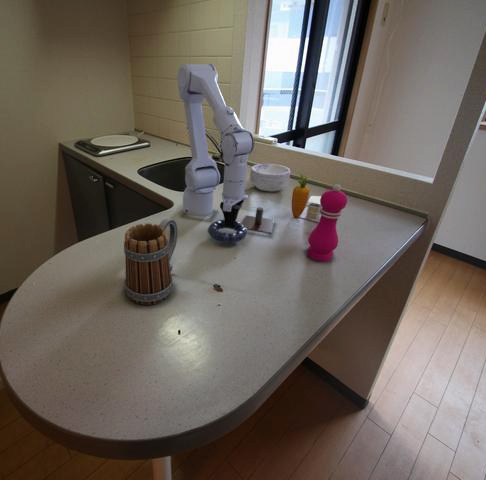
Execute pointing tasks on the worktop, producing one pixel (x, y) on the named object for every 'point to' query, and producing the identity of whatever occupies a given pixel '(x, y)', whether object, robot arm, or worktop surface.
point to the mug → (149, 261)
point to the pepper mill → (327, 225)
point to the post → (258, 222)
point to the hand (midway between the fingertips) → (230, 224)
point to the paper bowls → (269, 176)
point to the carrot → (300, 197)
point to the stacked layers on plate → (312, 209)
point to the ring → (224, 236)
